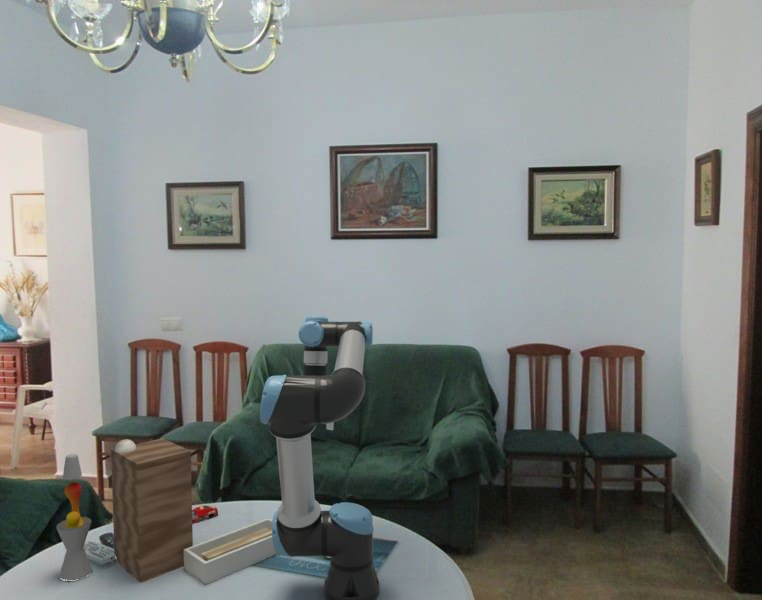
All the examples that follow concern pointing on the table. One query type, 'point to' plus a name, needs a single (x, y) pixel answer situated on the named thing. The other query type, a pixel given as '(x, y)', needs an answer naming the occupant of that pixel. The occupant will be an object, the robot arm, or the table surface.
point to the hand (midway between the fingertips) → (313, 431)
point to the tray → (231, 560)
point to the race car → (203, 513)
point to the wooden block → (151, 506)
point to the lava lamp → (74, 526)
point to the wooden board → (236, 544)
